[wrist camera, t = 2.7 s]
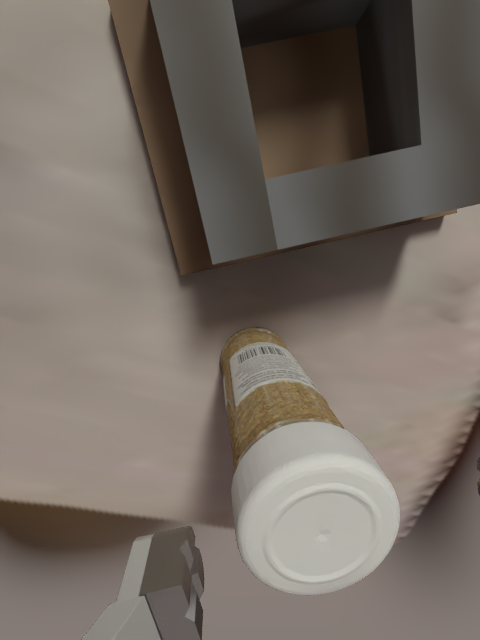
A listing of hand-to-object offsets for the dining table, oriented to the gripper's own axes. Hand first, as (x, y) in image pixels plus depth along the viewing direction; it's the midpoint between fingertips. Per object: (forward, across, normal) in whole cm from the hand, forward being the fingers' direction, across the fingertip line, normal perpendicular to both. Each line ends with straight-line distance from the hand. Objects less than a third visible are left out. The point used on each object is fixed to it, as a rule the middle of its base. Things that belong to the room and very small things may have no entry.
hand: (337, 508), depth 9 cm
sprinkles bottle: (+13, +1, 0) cm, 13 cm away
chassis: (+13, -4, -14) cm, 19 cm away
